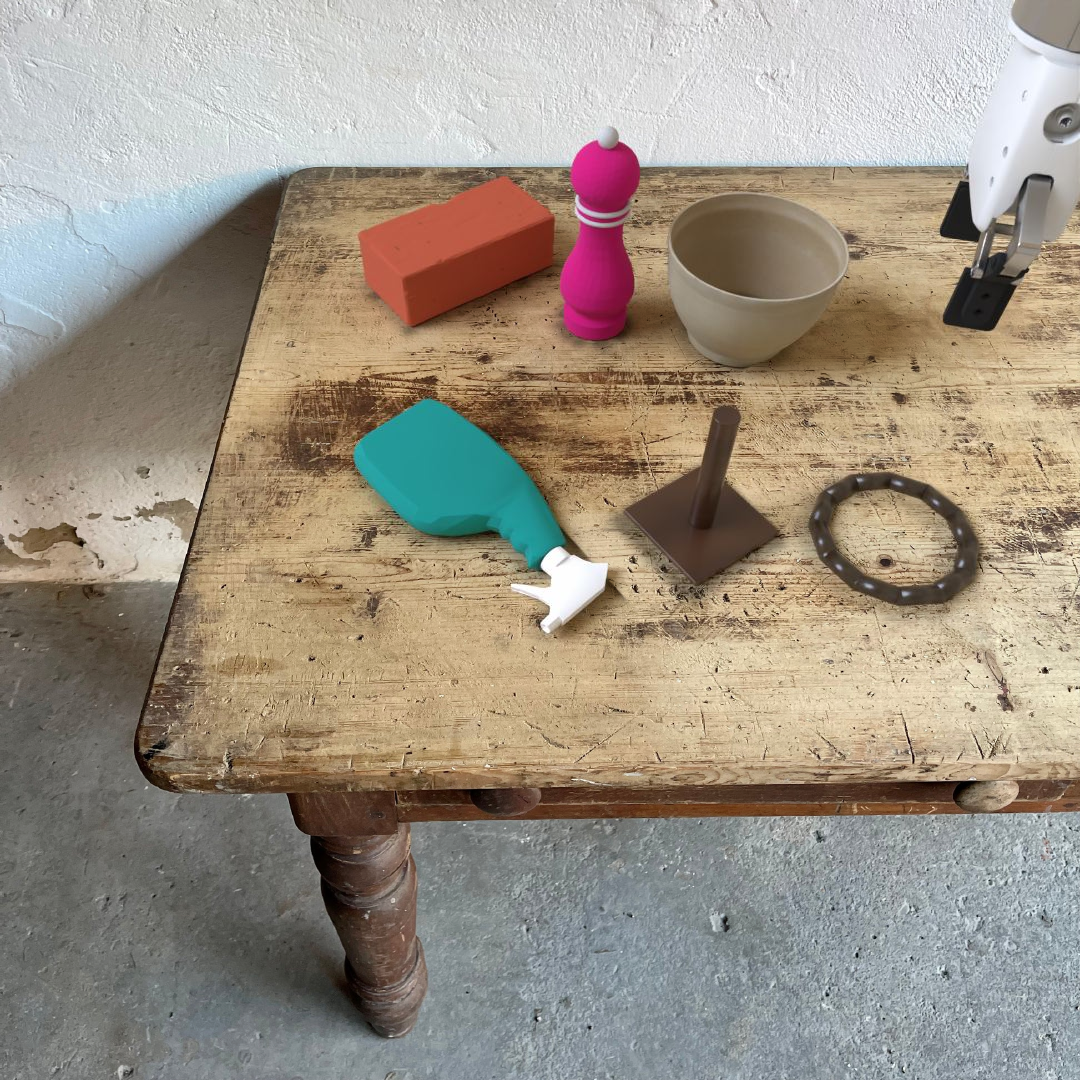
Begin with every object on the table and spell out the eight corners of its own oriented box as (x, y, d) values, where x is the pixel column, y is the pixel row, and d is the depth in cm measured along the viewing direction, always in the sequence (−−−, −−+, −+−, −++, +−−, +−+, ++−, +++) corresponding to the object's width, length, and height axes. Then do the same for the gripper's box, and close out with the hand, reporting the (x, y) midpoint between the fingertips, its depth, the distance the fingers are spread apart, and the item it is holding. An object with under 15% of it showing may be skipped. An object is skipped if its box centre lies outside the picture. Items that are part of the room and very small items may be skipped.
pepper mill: (554, 340, 88) (560, 146, 72) (563, 294, 92) (570, 102, 76) (627, 348, 87) (650, 154, 71) (632, 301, 91) (655, 108, 75)
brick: (409, 328, 88) (403, 278, 84) (364, 282, 93) (356, 231, 88) (554, 265, 95) (556, 214, 90) (506, 224, 99) (505, 174, 94)
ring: (1007, 558, 72) (1015, 546, 71) (897, 639, 68) (904, 627, 66) (882, 459, 79) (888, 446, 77) (774, 526, 74) (779, 514, 73)
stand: (776, 539, 73) (818, 426, 63) (693, 592, 70) (723, 482, 59) (703, 472, 77) (730, 355, 67) (622, 518, 74) (637, 403, 64)
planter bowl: (681, 404, 82) (699, 309, 74) (636, 296, 92) (647, 200, 83) (844, 382, 84) (880, 287, 76) (783, 278, 94) (809, 183, 85)
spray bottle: (441, 409, 82) (636, 573, 71) (343, 469, 77) (535, 654, 67) (439, 386, 79) (640, 552, 69) (338, 446, 75) (536, 634, 64)
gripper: (1202, 95, 41) (1032, 374, 54) (1143, -51, 51) (1012, 216, 65) (1031, 73, 42) (906, 353, 55) (1007, -65, 52) (906, 200, 66)
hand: (963, 279), depth 60 cm, fingers open, 9 cm apart
